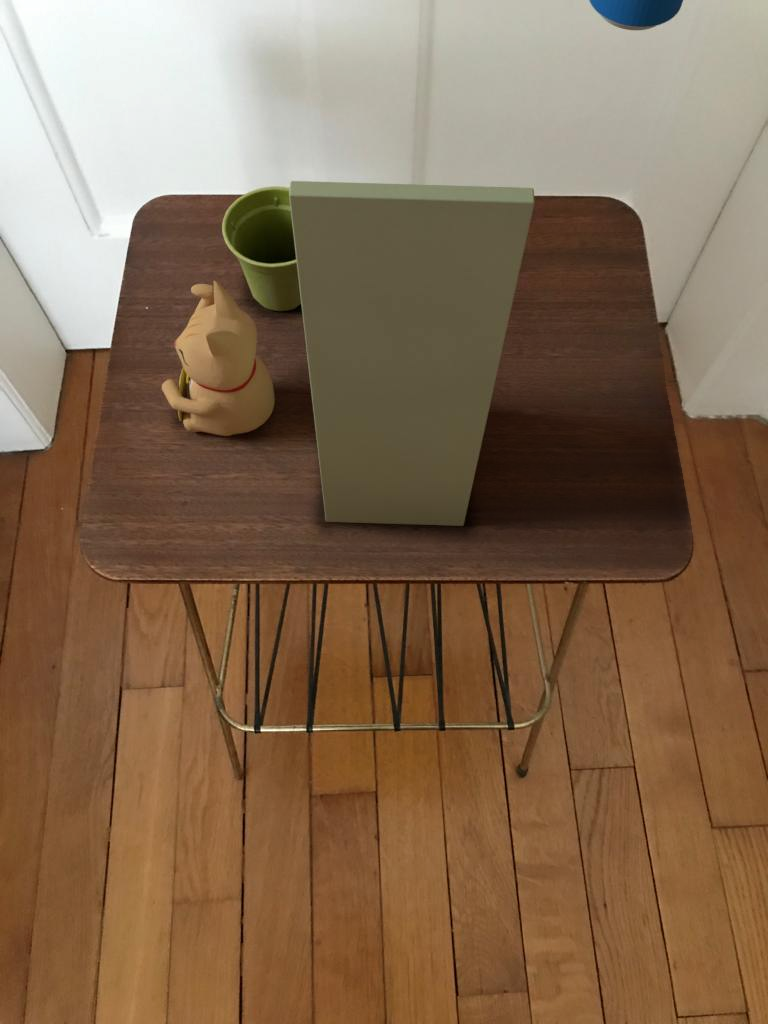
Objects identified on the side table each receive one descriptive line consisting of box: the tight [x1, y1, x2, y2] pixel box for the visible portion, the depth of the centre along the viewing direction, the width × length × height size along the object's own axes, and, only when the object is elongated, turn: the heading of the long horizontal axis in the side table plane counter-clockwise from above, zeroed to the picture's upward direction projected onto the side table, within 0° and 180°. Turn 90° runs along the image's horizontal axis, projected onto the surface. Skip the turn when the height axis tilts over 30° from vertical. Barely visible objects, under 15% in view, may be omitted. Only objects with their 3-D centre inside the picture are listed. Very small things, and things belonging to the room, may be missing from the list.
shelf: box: [289, 180, 536, 527], centre depth 64 cm, size 12×12×38 cm
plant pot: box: [221, 185, 301, 312], centre depth 85 cm, size 9×9×9 cm
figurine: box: [161, 280, 276, 437], centre depth 76 cm, size 9×10×15 cm
